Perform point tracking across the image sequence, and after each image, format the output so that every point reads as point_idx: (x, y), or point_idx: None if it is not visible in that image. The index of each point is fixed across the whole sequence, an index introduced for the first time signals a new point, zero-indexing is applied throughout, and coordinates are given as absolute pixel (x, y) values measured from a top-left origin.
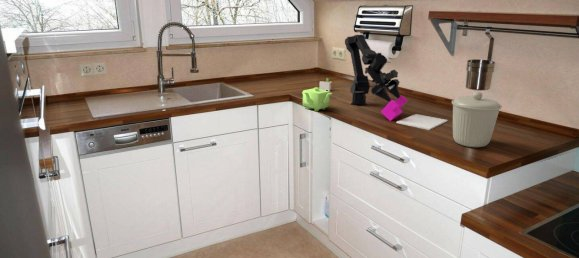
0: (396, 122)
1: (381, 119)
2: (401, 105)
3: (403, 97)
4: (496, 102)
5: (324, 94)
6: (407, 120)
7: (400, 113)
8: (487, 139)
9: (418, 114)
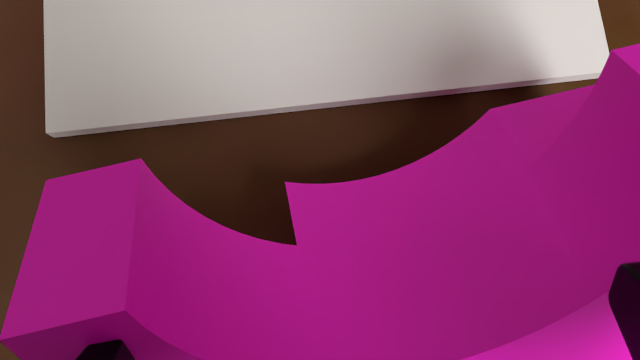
0: None
1: None
2: (232, 235)
3: (74, 258)
4: None
5: None
6: (440, 19)
7: (341, 190)
8: None
9: (50, 94)
